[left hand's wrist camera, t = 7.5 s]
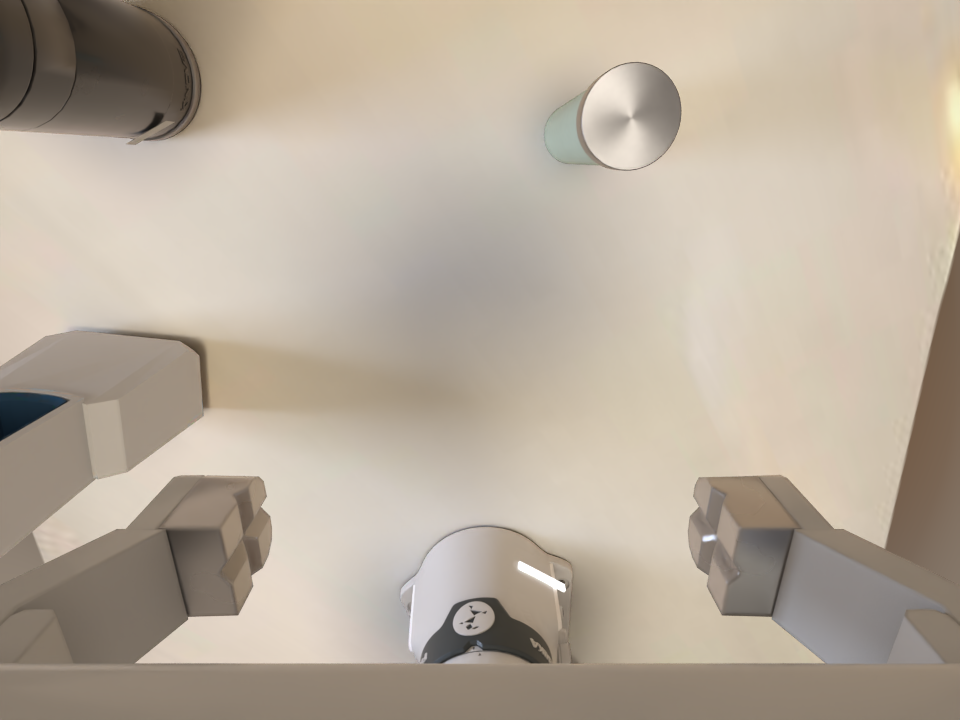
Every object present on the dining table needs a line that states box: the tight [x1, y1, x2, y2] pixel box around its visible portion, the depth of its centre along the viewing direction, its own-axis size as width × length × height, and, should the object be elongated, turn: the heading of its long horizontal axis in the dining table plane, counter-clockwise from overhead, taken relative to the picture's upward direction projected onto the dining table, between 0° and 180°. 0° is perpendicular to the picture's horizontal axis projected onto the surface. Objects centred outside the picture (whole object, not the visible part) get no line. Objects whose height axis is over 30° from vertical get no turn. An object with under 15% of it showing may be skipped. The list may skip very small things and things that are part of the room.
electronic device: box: [0, 331, 203, 558], centre depth 38 cm, size 12×8×30 cm, turn 84°
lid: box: [576, 62, 681, 170], centre depth 28 cm, size 5×5×2 cm
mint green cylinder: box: [544, 91, 599, 165], centre depth 36 cm, size 4×4×18 cm
